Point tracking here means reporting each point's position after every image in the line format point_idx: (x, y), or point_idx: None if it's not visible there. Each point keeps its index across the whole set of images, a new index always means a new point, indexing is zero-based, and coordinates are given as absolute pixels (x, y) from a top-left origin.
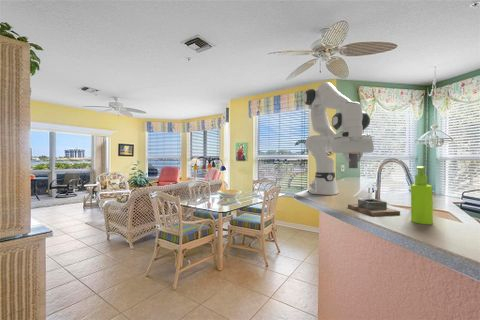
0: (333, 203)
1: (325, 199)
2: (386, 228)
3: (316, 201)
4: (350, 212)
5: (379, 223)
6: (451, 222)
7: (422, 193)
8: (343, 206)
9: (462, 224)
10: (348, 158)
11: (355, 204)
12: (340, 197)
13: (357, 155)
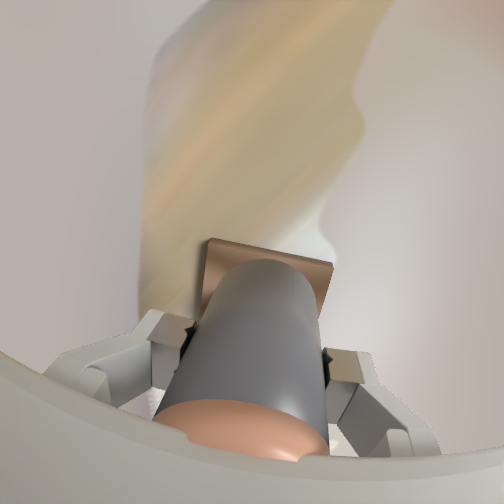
0: (214, 133)
1: (252, 25)
2: (151, 415)
3: (166, 62)
4: (163, 302)
5: (162, 397)
6: (329, 442)
7: None
8: (210, 211)
9: (330, 451)
10: (143, 386)
11: (239, 259)
12: (382, 15)
13: None
